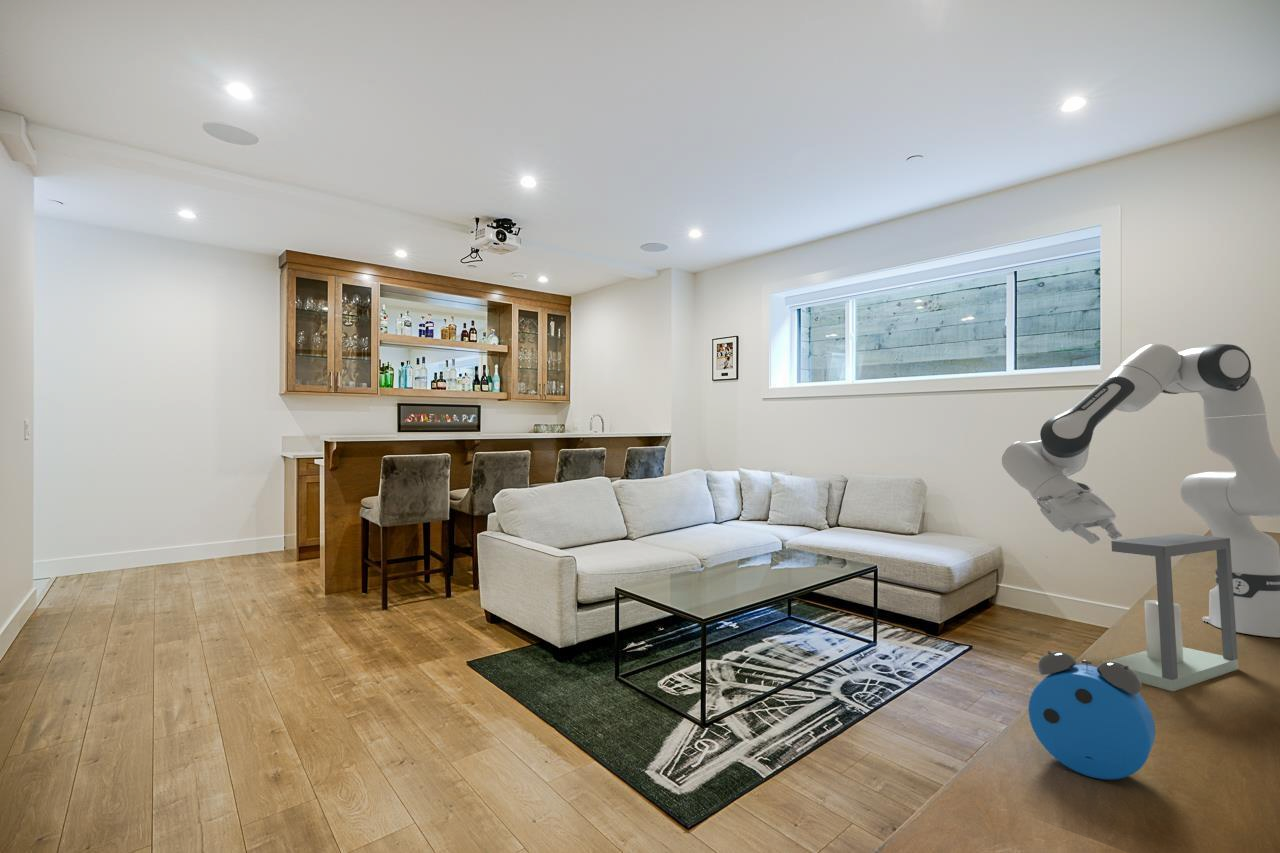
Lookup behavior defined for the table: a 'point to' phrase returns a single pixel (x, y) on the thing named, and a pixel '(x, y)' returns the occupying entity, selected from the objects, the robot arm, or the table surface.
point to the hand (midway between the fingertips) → (1107, 539)
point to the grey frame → (1195, 661)
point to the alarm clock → (1092, 716)
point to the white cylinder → (1154, 631)
